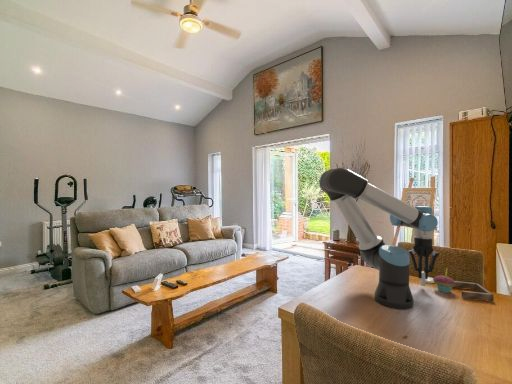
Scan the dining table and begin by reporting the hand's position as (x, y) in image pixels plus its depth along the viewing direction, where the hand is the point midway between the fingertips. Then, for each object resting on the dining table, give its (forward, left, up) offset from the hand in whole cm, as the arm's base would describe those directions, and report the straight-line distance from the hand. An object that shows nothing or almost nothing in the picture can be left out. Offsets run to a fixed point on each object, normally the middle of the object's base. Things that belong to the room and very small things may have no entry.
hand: (422, 285), depth 128 cm
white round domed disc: (+6, +13, -2) cm, 14 cm away
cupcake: (+9, 0, -2) cm, 9 cm away
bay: (+19, 0, -2) cm, 19 cm away
